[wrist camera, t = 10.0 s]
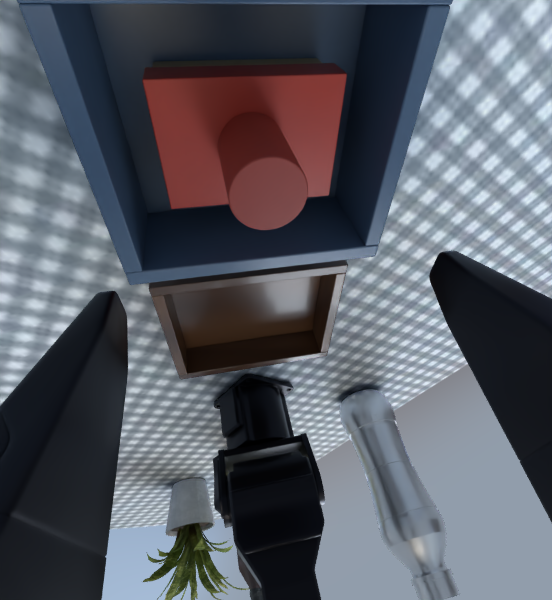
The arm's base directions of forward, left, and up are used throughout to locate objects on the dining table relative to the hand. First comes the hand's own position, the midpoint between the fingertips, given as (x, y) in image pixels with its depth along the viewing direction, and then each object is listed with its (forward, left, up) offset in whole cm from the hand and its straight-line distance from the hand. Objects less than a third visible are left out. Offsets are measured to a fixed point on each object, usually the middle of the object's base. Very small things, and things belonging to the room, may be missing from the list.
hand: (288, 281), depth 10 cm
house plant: (-25, +48, -12) cm, 56 cm away
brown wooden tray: (-8, +10, -12) cm, 18 cm away
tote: (0, 0, -12) cm, 12 cm away
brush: (0, 0, -11) cm, 11 cm away
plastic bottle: (-31, +18, -12) cm, 38 cm away
